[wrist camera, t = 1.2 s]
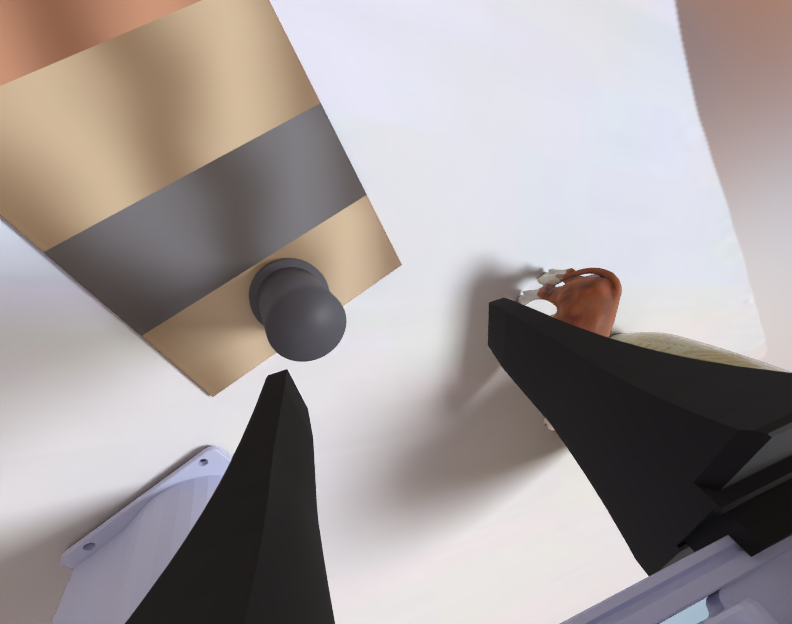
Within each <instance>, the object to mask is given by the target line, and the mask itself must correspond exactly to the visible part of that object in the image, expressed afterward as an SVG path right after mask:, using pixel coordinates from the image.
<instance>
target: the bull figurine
mask: <svg viewBox="0 0 792 624" xmlns="http://www.w3.org/2000/svg"><path fill="white" fill-rule="evenodd" d="M548 271H549V272H548V273H544V274H543V275H542V276H541V277H540V278H538V282H539V283H540V284H542V285H543V287H541V288H539V289H537V290H527V291H523V294H524V295H522V296H519V297H518V299H517V303H520V304H522V305H526V304H528V303H529V302H531V301H533V300H536V299H543V300H547V301H549V302H551V303H553V304H554V305H555V306H556V307H557V313H556V314H554V315H551V317H554V318H556V319H559V320H561V321H564V322H566V323H569V324H571V325H574V326H577V327H579V328H582V329H585V330H588V331H591V332H594V333H597V334H599V335H602V336H606V337H609V335H610V332H611V329H612V326H613V324H614V321H615V317H616V312H617V309H618V305H619V300H620V296H621V292H622V288H621V284H620V281H619V279H618V278H617V277H616V275H615V274H614V273H612V272H610V271H608V270H605V269H601V268H586V269H581V270H577V271H575V270H574V269H572V268H570V269H567V270H556V269H550V270H548ZM588 273H591V274H594V275H590V276H586V277H583V276H580V275H582V274H588ZM562 281H563V282H564V283H565V285H563V286H560V287H555V285H556V284H559V283H561V282H562ZM544 424H545V426H546V427H547V428H548V429H549V430H552V431H555V430H554V428H553V427H552V425H551V424H550V423H549V422H548V420H547V419H546V418H544Z"/></svg>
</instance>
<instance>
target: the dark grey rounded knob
mask: <svg viewBox="0 0 792 624" xmlns="http://www.w3.org/2000/svg"><path fill="white" fill-rule="evenodd" d="M249 301H250V306H251V309H252V312H253V314H254V316H255V317H256V319H257V320H258V321H259V322H260V323H261V324H262V325H263V326H264V328H265V332H266V336H267V339H268V341H269V343H270V345H271V347H272V348H273V349H274V350H275V351H276V352H277V353H278V354H280V355H281V356H283V357H285V358H287V359H289V360H293V361H312V360H316V359H318V358H321V357H323V356H325V355H326V354H328V353H329V352H331V351H332V350H333V349H334V348H335V347H336V346H337V345H338V343H339V342H340V340H341V339H342V337H343V334H344V332H345V328H346V315H345V311H344V308H343V306H342V304H341V303H340V301H339V300H338V299H337V298H336V297H335V296H334V295H333V294H332V293H331V292H330V291H329V287H328V284H327V281H326V279H325V278H324V276H323V275H322V273H321V272H320V271H319V270H318V269H316V268H315V267H314V266H313V265H311V264H310V263H308V262H306V261H303V260H300V259H296V258H282V259H278V260H275V261H272V262H270V263H268V264H266V265H265V266H264V267H262V268H261V269H260V270H259V271H258V272H257V274H256V275H255V276H254V278H253V280H252V282H251V285H250V289H249Z"/></svg>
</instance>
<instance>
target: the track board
mask: <svg viewBox="0 0 792 624" xmlns="http://www.w3.org/2000/svg"><path fill="white" fill-rule="evenodd" d="M0 215H1V216H2V217H3V218H4V219H6V220H7V221H8V222H9V223H10V224H11V225H13V226H14V227H15V228H16V229H17V230H18V231H20V232H21V233H22V234H23V235H24V236H25V237H27V238H28V239H29V240H30V241H31V242H32V243H34V244H35V245H36V246H37V247H38V248H39V249H41V250H42V251H43V252H44V253H45V254H46V255H48V256H49V257H50V258H51V259H52V260H53V261H55V262H56V263H57V264H58V265H59V266H60V267H62V268H63V269H64V270H65V271H66V272H67V273H69V274H70V275H71V276H72V277H73V278H74V279H76V280H77V281H78V282H79V283H80V284H81V285H83V286H84V287H85V288H86V289H87V290H88V291H90V292H91V293H92V294H93V295H94V296H95V297H97V298H98V299H99V300H100V301H101V302H102V303H104V304H105V305H106V306H107V307H108V308H109V309H111V310H112V311H113V312H114V313H115V314H116V315H118V316H119V317H120V318H121V319H122V320H123V321H125V322H126V323H127V324H128V325H129V326H130V327H132V328H133V329H134V330H135V331H136V332H138V333H139V334H140V335H141V336H142V337H143V338H145V339H146V340H147V341H148V342H149V343H150V344H152V345H153V346H154V347H155V348H156V349H157V350H159V351H160V352H161V353H162V354H163V355H164V356H166V357H167V358H168V359H169V360H170V361H171V362H173V363H174V364H175V365H176V366H177V367H178V368H180V369H181V370H182V371H183V372H184V373H185V374H187V375H188V376H189V377H190V378H191V379H192V380H194V381H195V382H196V383H197V384H198V385H199V386H201V387H202V388H203V389H204V390H205V391H206V392H208V393H209V394H210V395H211V396H212V397H213V396H215V395H216V394H218V393H219V392H221V391H222V390H223V389H225V388H226V387H228V386H229V385H231V384H232V383H233V382H235V381H236V380H238V379H239V378H241V377H242V376H243V375H245V374H246V373H248V372H249V371H251V370H252V369H253V368H255V367H256V366H258V365H259V364H261V363H262V362H264V361H265V360H266V359H268V358H269V357H271V356H272V355H274V354H275V353H276V351H275V350H274V349H273V348H272V347H271V345H270V343H269V341H268V339H267V336H266V332H265V328H264V326H263V325H262V324H261V323H260V322H259V321H258V320H257V319H256V317H255V316H254V314H253V312H252V309H251V306H250V301H249V289H250V285H251V282H252V280H253V278H254V276H255V275H256V274H257V272H258V271H259V270H260V269H261V268H262V267H264V266H265V265H266V264H268V263H270V262H272V261H275V260H278V259H282V258H296V259H300V260H303V261H306V262H308V263H310V264H311V265H313V266H314V267H315V268H316V269H318V270H319V271H320V272H321V273H322V275H323V276H324V278H325V279H326V281H327V284H328V287H329V291H330V292H331V293H332V294H333V295H334V296H335V297H336V298H337V299H338V300H339V301H340V303H341V304H342V306H344V305H345V304H346V303H348V302H349V301H351V300H352V299H354V298H355V297H356V296H358V295H359V294H361V293H362V292H364V291H365V290H366V289H368V288H369V287H371V286H372V285H374V284H375V283H376V282H378V281H379V280H381V279H382V278H384V277H385V276H386V275H388V274H389V273H391V272H392V271H394V270H395V269H397V268H398V267H399V266H401V265H402V264H401V262H400V260H399V258H398V256H397V254H396V252H395V250H394V248H393V246H392V244H391V242H390V240H389V238H388V236H387V234H386V232H385V230H384V228H383V226H382V224H381V222H380V220H379V218H378V216H377V215H376V213H375V211H374V209H373V207H372V205H371V203H370V201H369V199H368V197H367V195H366V193H365V191H364V189H363V187H362V185H361V183H360V181H359V179H358V177H357V175H356V173H355V171H354V169H353V167H352V165H351V163H350V161H349V159H348V157H347V155H346V153H345V151H344V149H343V147H342V145H341V143H340V141H339V139H338V137H337V135H336V133H335V131H334V129H333V127H332V125H331V123H330V121H329V119H328V117H327V115H326V113H325V111H324V109H323V107H322V105H321V103H320V101H319V99H318V97H317V95H316V93H315V91H314V89H313V87H312V85H311V83H310V81H309V79H308V77H307V75H306V73H305V71H304V69H303V67H302V65H301V63H300V61H299V59H298V57H297V55H296V53H295V51H294V49H293V47H292V45H291V43H290V41H289V39H288V37H287V35H286V33H285V31H284V29H283V27H282V25H281V23H280V21H279V19H278V17H277V15H276V13H275V11H274V9H273V7H272V5H271V3H270V1H269V0H0Z"/></svg>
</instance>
